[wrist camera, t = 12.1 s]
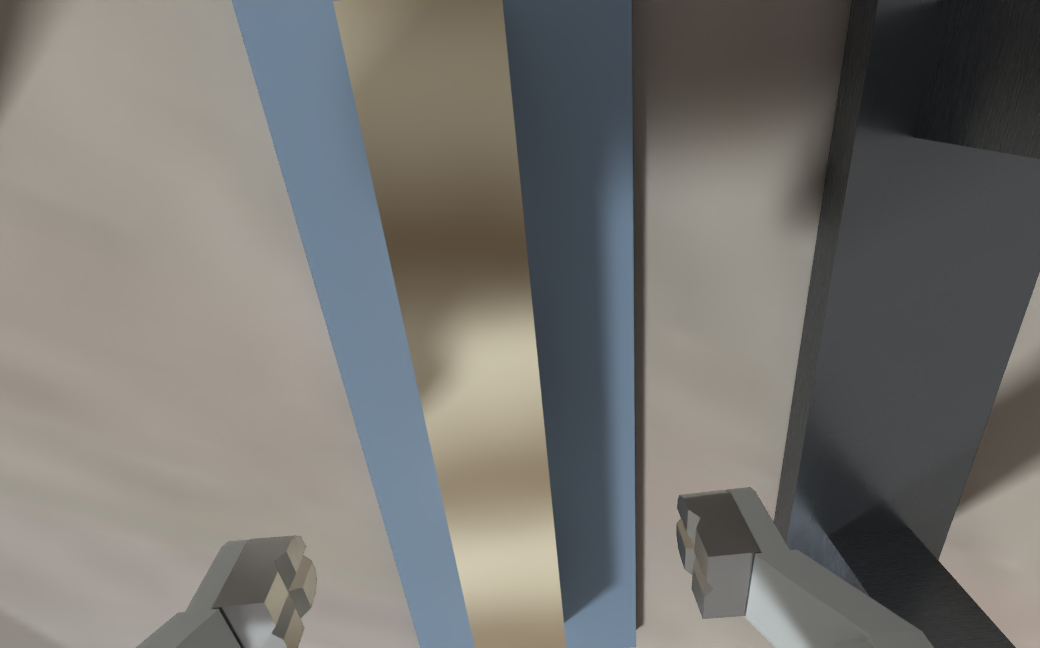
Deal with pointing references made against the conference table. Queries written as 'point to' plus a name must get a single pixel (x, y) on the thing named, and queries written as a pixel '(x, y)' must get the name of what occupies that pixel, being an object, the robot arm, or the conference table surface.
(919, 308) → the hook rack
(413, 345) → the rail
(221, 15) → the conference table surface
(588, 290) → the mat
